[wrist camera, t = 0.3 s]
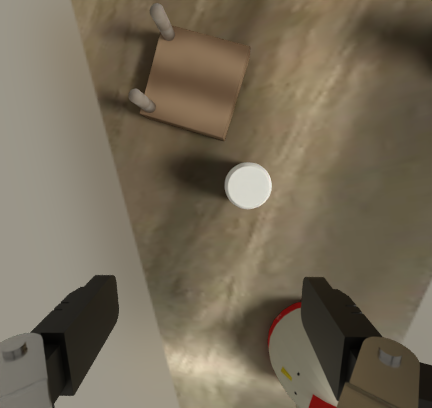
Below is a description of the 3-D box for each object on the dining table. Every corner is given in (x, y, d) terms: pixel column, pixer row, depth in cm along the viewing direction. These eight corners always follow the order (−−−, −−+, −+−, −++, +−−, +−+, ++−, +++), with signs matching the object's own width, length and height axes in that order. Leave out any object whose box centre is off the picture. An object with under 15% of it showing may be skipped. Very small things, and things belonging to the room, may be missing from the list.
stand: (169, 35, 38) (149, -3, 30) (249, 57, 37) (251, 24, 29) (147, 118, 39) (123, 103, 31) (224, 141, 38) (219, 131, 30)
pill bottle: (219, 183, 39) (211, 184, 29) (248, 156, 38) (249, 148, 28) (245, 211, 39) (246, 222, 29) (274, 185, 38) (285, 188, 28)
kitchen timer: (274, 293, 40) (292, 362, 25) (368, 306, 39) (447, 387, 24) (262, 377, 41) (273, 489, 27) (353, 393, 40) (418, 520, 25)
